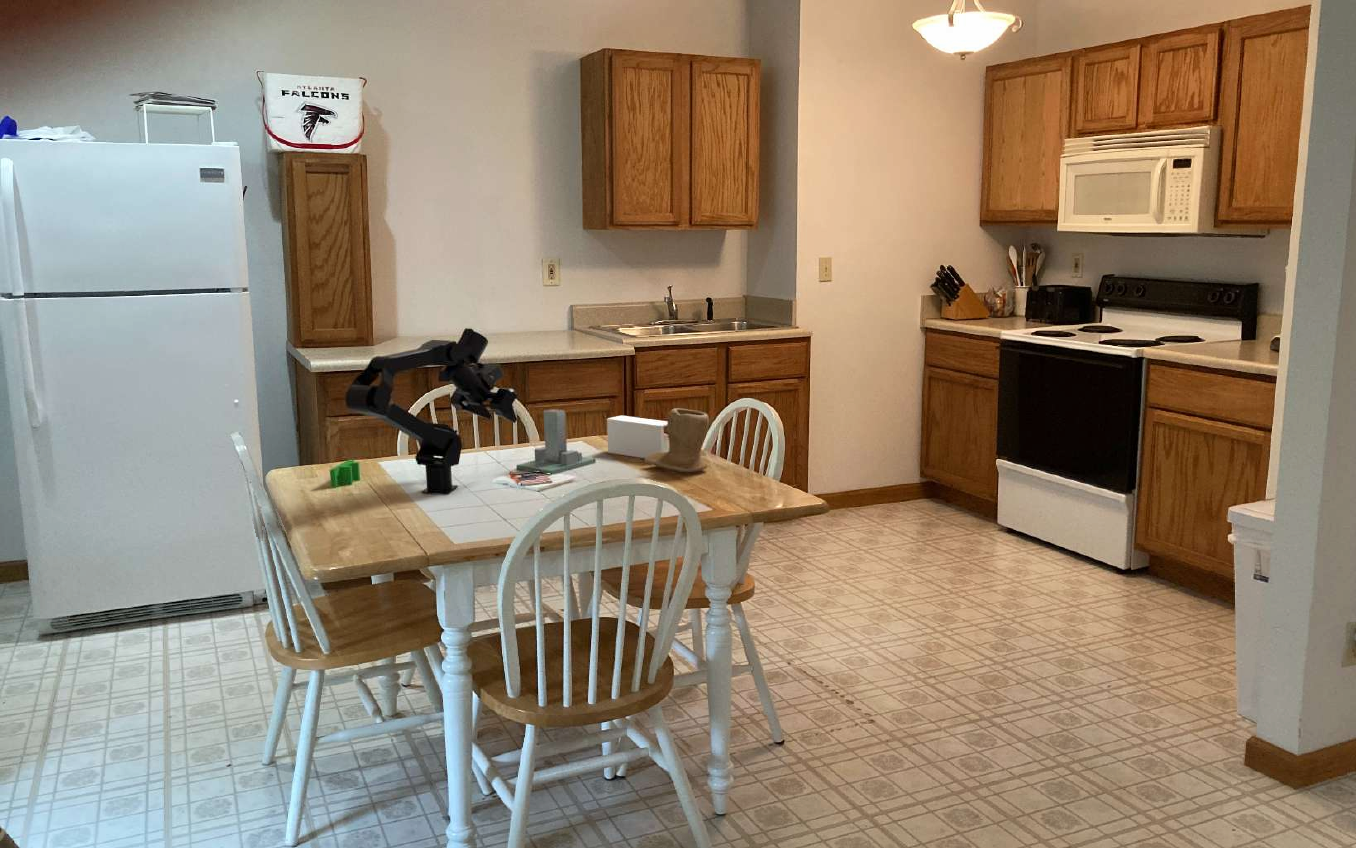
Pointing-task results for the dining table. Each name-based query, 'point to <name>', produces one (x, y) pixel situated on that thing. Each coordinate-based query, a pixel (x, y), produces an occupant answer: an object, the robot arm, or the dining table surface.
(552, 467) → the socket plate
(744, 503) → the dining table surface
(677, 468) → the fuzzy boot
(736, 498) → the dining table surface
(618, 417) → the white rectangular box
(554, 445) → the bar
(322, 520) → the dining table surface
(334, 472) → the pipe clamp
